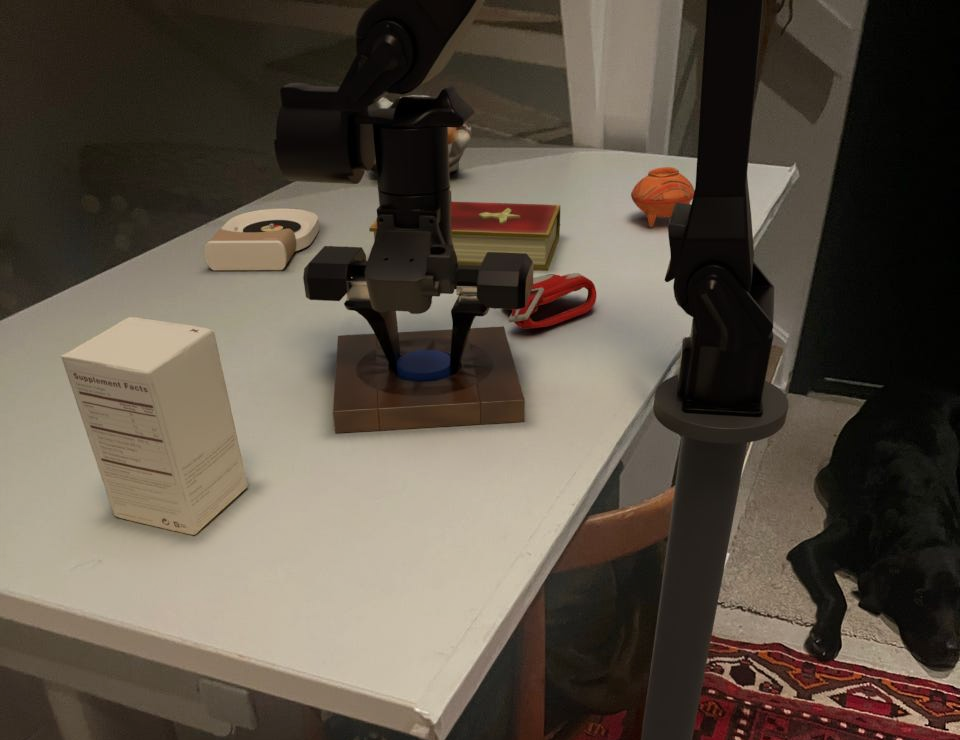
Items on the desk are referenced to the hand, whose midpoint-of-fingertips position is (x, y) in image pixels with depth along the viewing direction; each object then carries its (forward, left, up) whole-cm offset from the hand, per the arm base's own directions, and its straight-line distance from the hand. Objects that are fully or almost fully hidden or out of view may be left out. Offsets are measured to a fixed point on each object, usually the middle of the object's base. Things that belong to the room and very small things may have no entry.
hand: (425, 373), depth 83 cm
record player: (+29, -38, -2) cm, 47 cm away
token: (0, 0, -1) cm, 1 cm away
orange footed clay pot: (-6, -43, -5) cm, 43 cm away
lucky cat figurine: (+16, -70, -2) cm, 72 cm away
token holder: (0, 0, -1) cm, 1 cm away
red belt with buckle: (-8, -18, -2) cm, 20 cm away
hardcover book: (+3, -38, -2) cm, 38 cm away
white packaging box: (+14, +22, -2) cm, 26 cm away
